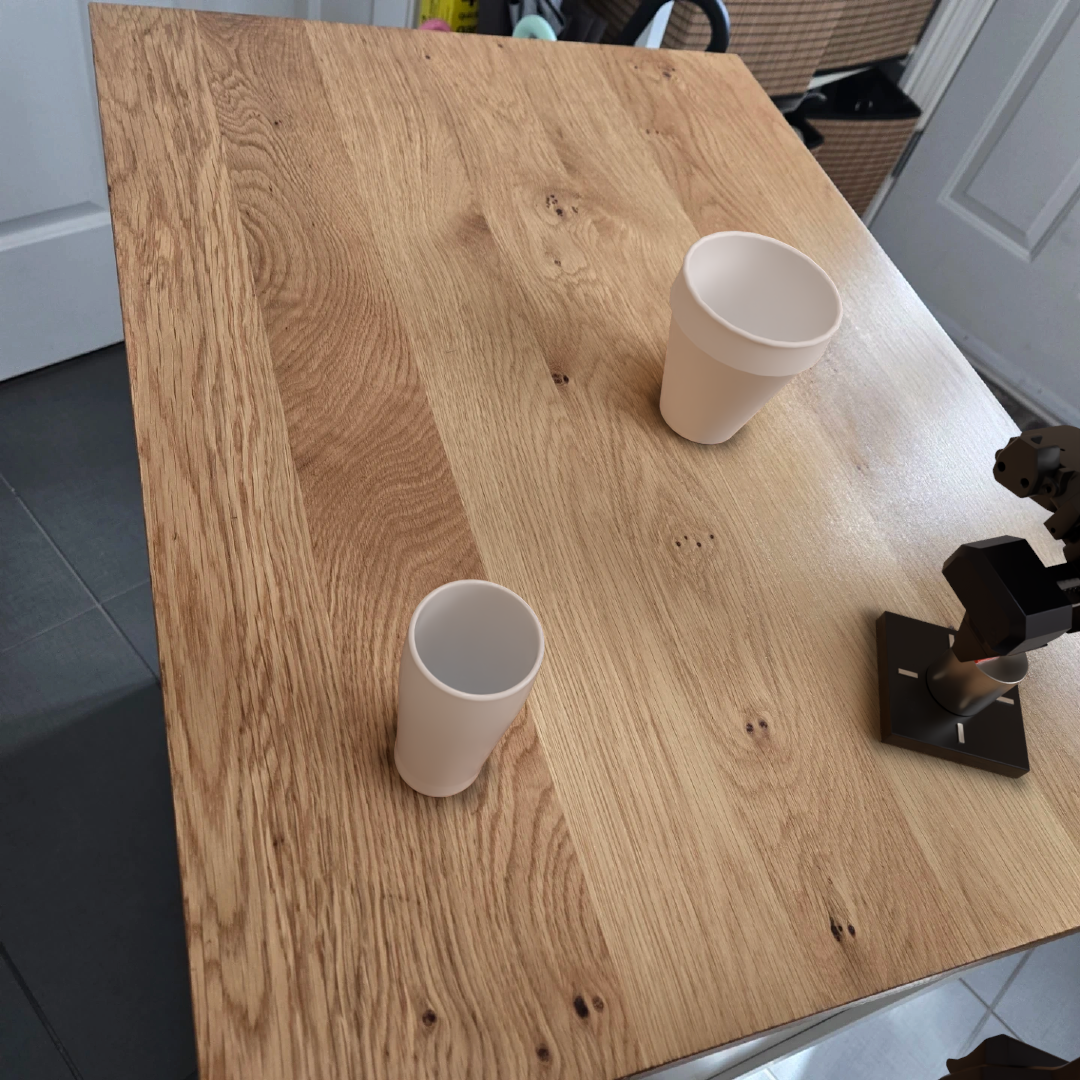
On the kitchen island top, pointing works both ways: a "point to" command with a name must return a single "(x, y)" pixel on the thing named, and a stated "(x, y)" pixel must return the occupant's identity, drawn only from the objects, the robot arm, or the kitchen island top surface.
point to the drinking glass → (462, 681)
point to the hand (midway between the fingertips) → (1011, 640)
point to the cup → (741, 330)
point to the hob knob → (973, 680)
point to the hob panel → (923, 720)
